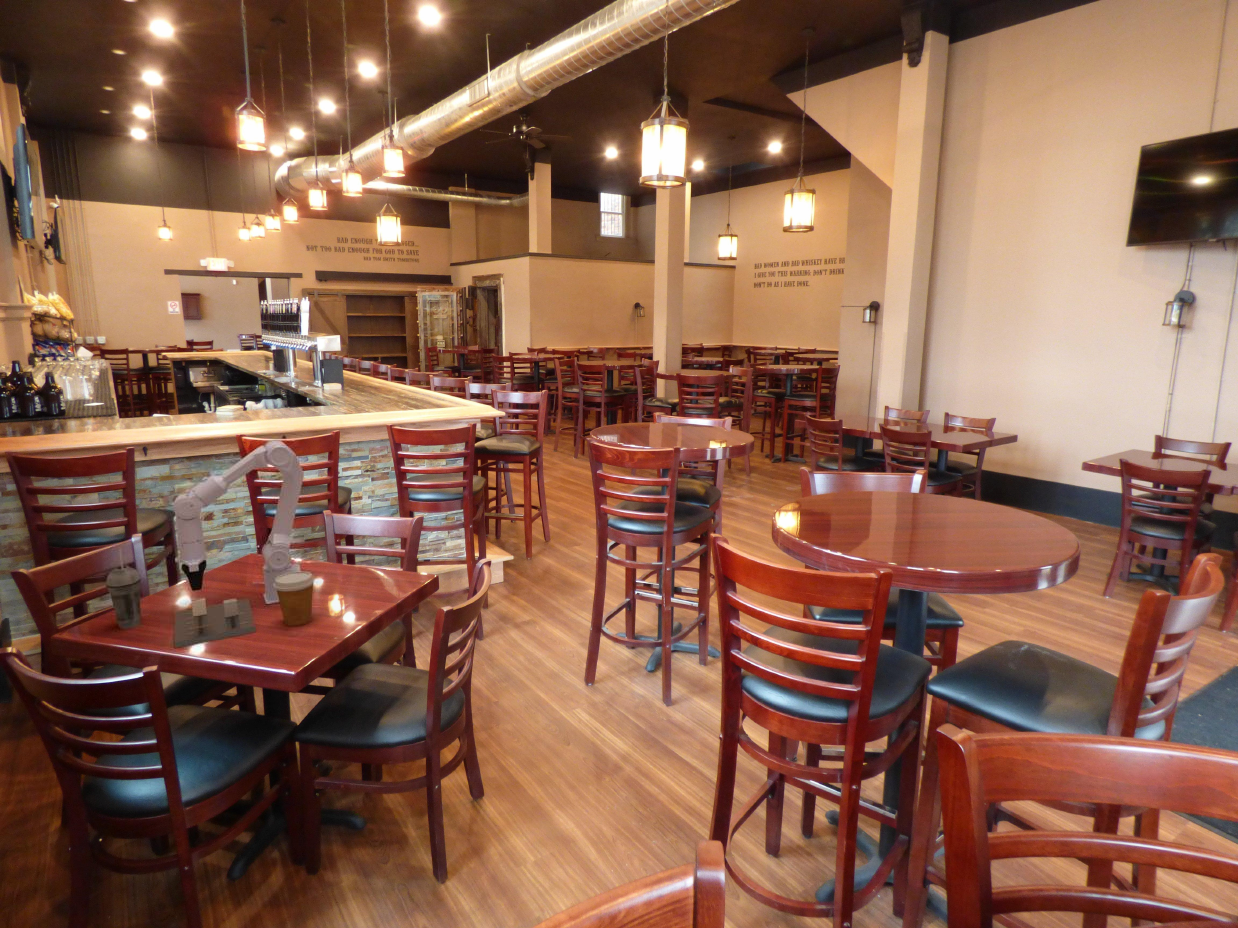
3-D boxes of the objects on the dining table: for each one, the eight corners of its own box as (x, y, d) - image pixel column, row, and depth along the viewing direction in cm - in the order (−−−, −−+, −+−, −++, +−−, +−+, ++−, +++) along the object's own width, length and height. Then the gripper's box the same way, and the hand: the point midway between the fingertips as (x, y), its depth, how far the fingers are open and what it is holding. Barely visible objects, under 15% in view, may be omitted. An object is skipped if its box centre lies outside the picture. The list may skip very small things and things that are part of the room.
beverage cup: (110, 633, 174) (98, 556, 170) (115, 622, 181) (103, 548, 177) (145, 627, 178) (134, 552, 174) (148, 617, 184) (138, 544, 180)
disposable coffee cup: (326, 616, 184) (322, 572, 182) (298, 631, 175) (294, 585, 173) (297, 611, 187) (293, 568, 185) (269, 625, 178) (264, 581, 176)
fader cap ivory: (206, 611, 183) (204, 597, 182) (206, 614, 182) (204, 599, 181) (193, 614, 182) (191, 599, 181) (193, 616, 180) (191, 601, 179)
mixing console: (248, 603, 192) (248, 598, 192) (255, 631, 175) (254, 625, 174) (176, 617, 184) (175, 611, 183) (175, 648, 166) (174, 641, 166)
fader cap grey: (238, 612, 182) (236, 597, 182) (238, 614, 181) (236, 599, 180) (225, 615, 181) (223, 600, 180) (225, 617, 180) (223, 602, 179)
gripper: (173, 535, 187) (179, 583, 189) (172, 550, 174) (179, 601, 177) (203, 531, 190) (209, 578, 193) (205, 545, 178) (211, 596, 181)
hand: (197, 589), depth 185 cm, fingers closed
